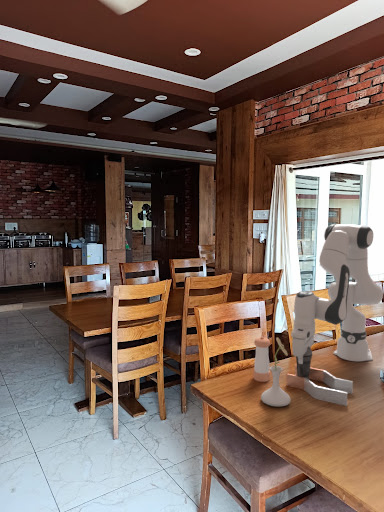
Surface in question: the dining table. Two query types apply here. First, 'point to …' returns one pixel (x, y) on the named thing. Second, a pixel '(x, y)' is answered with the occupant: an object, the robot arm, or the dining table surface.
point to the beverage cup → (304, 364)
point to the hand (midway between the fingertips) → (303, 360)
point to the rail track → (330, 395)
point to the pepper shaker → (261, 360)
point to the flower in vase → (276, 386)
